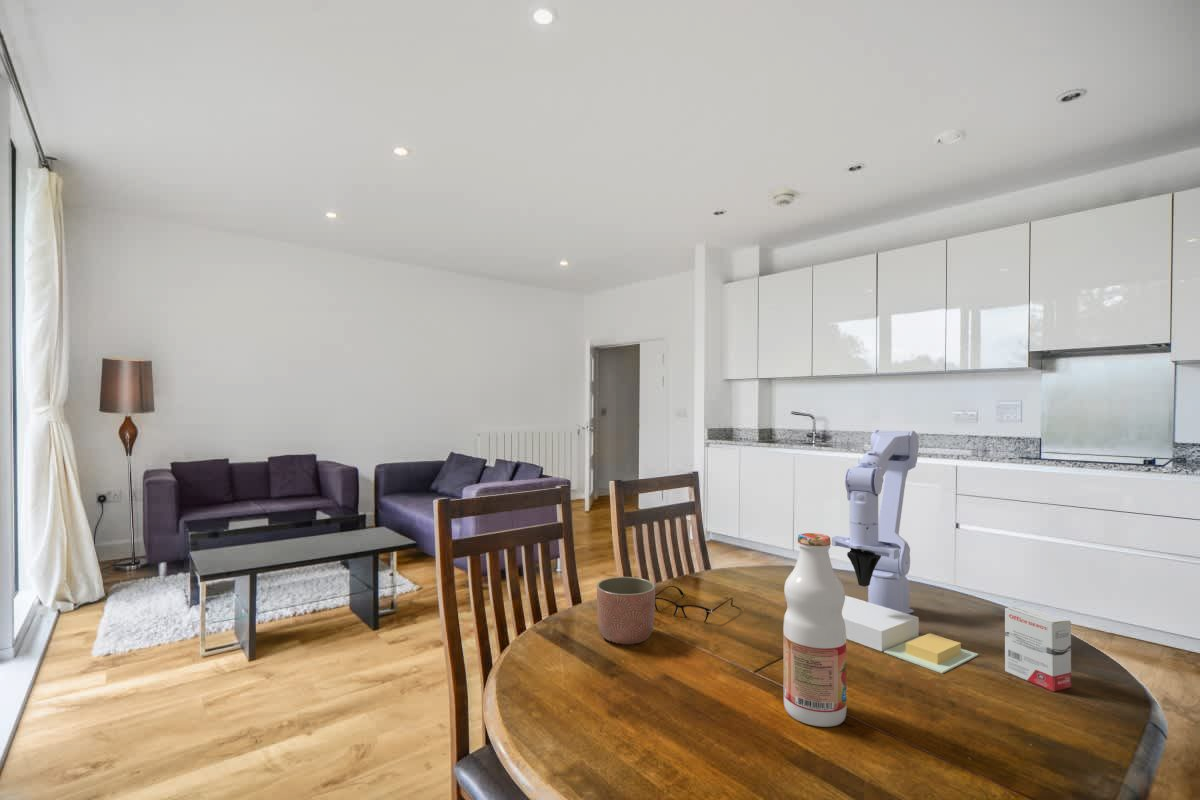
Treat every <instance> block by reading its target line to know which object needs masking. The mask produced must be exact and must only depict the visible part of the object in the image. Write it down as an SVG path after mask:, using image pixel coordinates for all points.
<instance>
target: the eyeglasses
mask: <svg viewBox="0 0 1200 800" xmlns="http://www.w3.org/2000/svg"><path fill="white" fill-rule="evenodd" d="M668 588H675V589H677V591H678V592H679V594H680V596H681V595H683V594H684V595H685V593H684V591H682V590H681V589H680V587H677V586H676V585H675V586H674V585H669V586H666V587H664V588H663V589H662V590H660V591H659V592H658V593H657V594H656V593H655V611H656V612H657V611H659V609H658V607H657V603H656V600H660V601H661V600H662V601H665V602H668V603H671V604H673V605H675V611H674V613H673V614H672V615H674V616H675V615H676V613H678V612H679V608H680V609H681V611H682V612H681V613H682V614H683V616H684V618H685V619H686V618H688V616H687V614H686V612H685V609H684V608H686V607H692V608H693V607H694V608H698V609H702V610H704V611H706V616H705V618H704V620H703V622H705V623H706V621H707V620H708V617H709V614H711V613H713V612H714V611H716V610H718V608H720V607H722V606H723V605H724V604H726V603H728V601H730V600H731V601H730V606H731V605H732V606H733V602H734V601H733V597H730V598H729V599H727V600H726V601H724V602H723V603H721V604H719V605H718V606H716V607H715V608H713V609H709V608H707V607H704V606H701V605H697V604H696V605H694V604H678V603H677V602H674V601H673V600H670V599H668V598H664V597H659V596H658V595H659V594H661V593H662V592H664V591H665V590H666V589H668ZM684 595H683V596H684Z"/></svg>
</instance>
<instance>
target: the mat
mask: <svg viewBox="0 0 1200 800" xmlns="http://www.w3.org/2000/svg"><path fill="white" fill-rule="evenodd" d="M921 636H922V635H919V636H918V637H915V638H913V639H911V640H908V641H906V642H903V643H901V644H899V645H896V646H894V647H891V648H889V649H886V650H884V651H883V653H885V654H887V655H890V656H893V657H895V658H899V659H900V660H901V659H902V661H903V660H904V661H906V662H910V663H912V664H915V665H918V666H921V667H923V668H925V669H929V670H931V671H934V672H937V673H940V674H944V673H946V672H949V671H951V670H952V669H954V668H956V667H958V666H961V665H963V664H965V663H967V662H968V661H970V660H972V659H974V658H976V657H978V656H979V653H976V652H974V651H970V650H967V649H964V648H961V654H958V655H956V656H954V657H952V658H950V659H948V660H946V661H944V662H942V663H940V664H938V665H937V664H935V663H932V662H929V661H926V660H923V659H921V658H918V657H915V656H912V655H909V654H907V653H906V643H907V642H909V641H912V640H914V639H917V638H919V637H921Z"/></svg>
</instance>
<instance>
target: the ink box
mask: <svg viewBox="0 0 1200 800" xmlns="http://www.w3.org/2000/svg"><path fill="white" fill-rule="evenodd" d="M1004 660H1005V661H1004V669H1005V670H1004V671H1005V672H1006V673H1008V674H1011V675H1013V676H1015V677H1018V678H1020V679H1023V680H1025V681H1027V682H1030V683H1032V684H1035V685H1036V686H1039V687H1042V688H1043V689H1046V690H1049V691H1051V692H1057V691H1062V690H1066V689H1069V688H1072V621H1071V620H1070V619H1067V618H1063V617H1059V616H1057V615H1053V614H1050V613H1048V612H1044V611H1040V610H1038V609H1035V608H1030V607H1028V606H1024V605H1020V606H1007V607H1005V608H1004Z"/></svg>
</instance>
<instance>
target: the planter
mask: <svg viewBox="0 0 1200 800" xmlns="http://www.w3.org/2000/svg"><path fill="white" fill-rule="evenodd" d="M655 595H656V584H655V583H654V582H652V581H650V580H648V579H645V578H640V577H636V576H635V577H634V576H615V577H609V578H606V579H605V578H604V579H602V580H600V581H599V582H597V584H596V605H597V606H596V607H597V610H596V611H597V622H598V628H599V631H600V634H601V636H602V637H603V638H604V639H606V640H607V641H609V642H611V641H612V643H614V642H616V643H615V644H618V643H621V644H620V645H634V644H635V643H636V644H639V643H642V641H643V642H645V641H646V640H648V638H650V636H651V635H652V632H653V629H654V622H655V611H656V608H655ZM636 644H635V645H636Z"/></svg>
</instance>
